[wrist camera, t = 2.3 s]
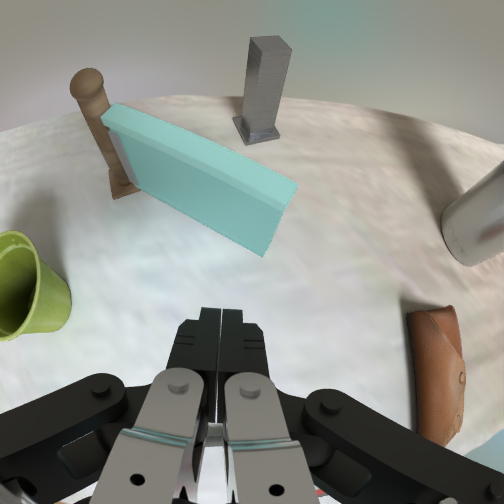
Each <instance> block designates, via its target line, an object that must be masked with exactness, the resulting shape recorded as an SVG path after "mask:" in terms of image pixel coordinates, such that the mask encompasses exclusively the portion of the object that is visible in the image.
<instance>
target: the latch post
mask: <svg viewBox="0 0 504 504" xmlns="http://www.w3.org/2000/svg"><path fill="white" fill-rule="evenodd" d="M291 52H292V49H291V48H290V47H289V46H288V45H287V44H286V43H285V42H284V41H283V40H282V39H281V37H280V36H262V37H250V44H249V52H248V61H247V69H246V79H245V88H244V97H243V107H242V116H241V117H236V118H234V123H235V125H236V127H237V129H238V131H239V133H240V135H241V137H242V139H243V141H244V143H245V145H246V146H247V145H251V144H255V143H260V142H265V141H269V140H274V139H279V138H280V134H279V132H278V131H277V129H276V127H275V126H274V124H275V120H276V116H277V112H278V107H279V103H280V99H281V95H282V90H283V86H284V82H285V78H286V73H287V69H288V65H289V61H290V56H291Z"/></svg>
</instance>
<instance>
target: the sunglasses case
mask: <svg viewBox="0 0 504 504" xmlns="http://www.w3.org/2000/svg"><path fill="white" fill-rule="evenodd" d="M407 324H408V329H409V336H410V341H411V347H412V353H413V362H414V369H415V381H416V397H417V434H418V435H420V436H422V437H424V438H426V439H428V440H430V441H432V442H434V443H436V444H438V445H440V446H442V447H445V446H446V445H447V444H448V443H449V442H450V440H451V439H452V438H453V437H454V436H455V435H456V433H458V432H460V429H461V426H462V420H463V411H464V391H465V385H466V376H465V375H466V373H465V363H464V361H463V359H462V347H461V338H460V331H459V326H458V320H457V316H456V312H455V309H454V307H453V306H450V305H448V306H446V307H445V308H440V309H435V310H429V311H415V312H409V313H407Z"/></svg>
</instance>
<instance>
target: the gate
mask: <svg viewBox="0 0 504 504" xmlns="http://www.w3.org/2000/svg"><path fill="white" fill-rule="evenodd" d="M101 120H102V122H103V124H104V125H105V126H107V127H109V128H110V130H109V131H108V134H109V136H110V139H111V141H112V143H113V146H114V148H115V150H116V152H117V155H118V157H119V159H120V161H121V163H122V166H123V168H124V170H125V172H126V174H127V176H128V178H129V181H130V182H131V183H133V184H134V185H135V187H137V188H139V189H141V190H143V191H144V192H146V193H148V194H150V195H152V196H153V197H155V198H157V199H159V200H161V201H162V202H164V203H166V204H168V205H170V206H171V207H173V208H175V209H177V210H179V211H180V212H182V213H184V214H186V215H188V216H189V217H191V218H193V219H195V220H196V221H198V222H200V223H202V224H204V225H205V226H207V227H209V228H211V229H213V230H214V231H216V232H218V233H220V234H222V235H223V236H225V237H227V238H229V239H231V240H232V241H234V242H236V243H238V244H240V245H241V246H243V247H245V248H247V249H249V250H250V251H252V252H254V253H256V254H258V255H259V256H261V257H263V256H264V254H265V253H266V251H267V249H268V248H269V245H270V243H271V241H272V238H273V236H274V234H275V231H276V229H277V227H278V224H279V222H280V220H281V217H282V215H283V213H284V211H285V209H286V207H287V206H288V204H289V202H290V201H291V199H292V197H293V195H294V194H295V192H296V189H297V187H298V185H299V184H297V183H296V182H294V181H292V180H290V179H288V178H286V177H284V176H282V175H280V174H278V173H276V172H274V171H273V170H271V169H269V168H267V167H265V166H263V165H261V164H259V163H257V162H255V161H253V160H250V159H248V158H246V157H244V156H242V155H240V154H238V153H236V152H234V151H232V150H230V149H227V148H225V147H223V146H221V145H219V144H217V143H214V142H212V141H210V140H208V139H205V138H203V137H201V136H199V135H196V134H194V133H192V132H189V131H187V130H185V129H182V128H180V127H178V126H175V125H173V124H170V123H168V122H166V121H163V120H161V119H158V118H156V117H153V116H150V115H148V114H145V113H143V112H140V111H137V110H135V109H132V108H129V107H127V106H124V105H121V104H118V103H115V104H114V105H113V106H111V107H110V108H109V109H108V110H107V111H106V112H105V113H104V114H103V115H102V116H101Z"/></svg>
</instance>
